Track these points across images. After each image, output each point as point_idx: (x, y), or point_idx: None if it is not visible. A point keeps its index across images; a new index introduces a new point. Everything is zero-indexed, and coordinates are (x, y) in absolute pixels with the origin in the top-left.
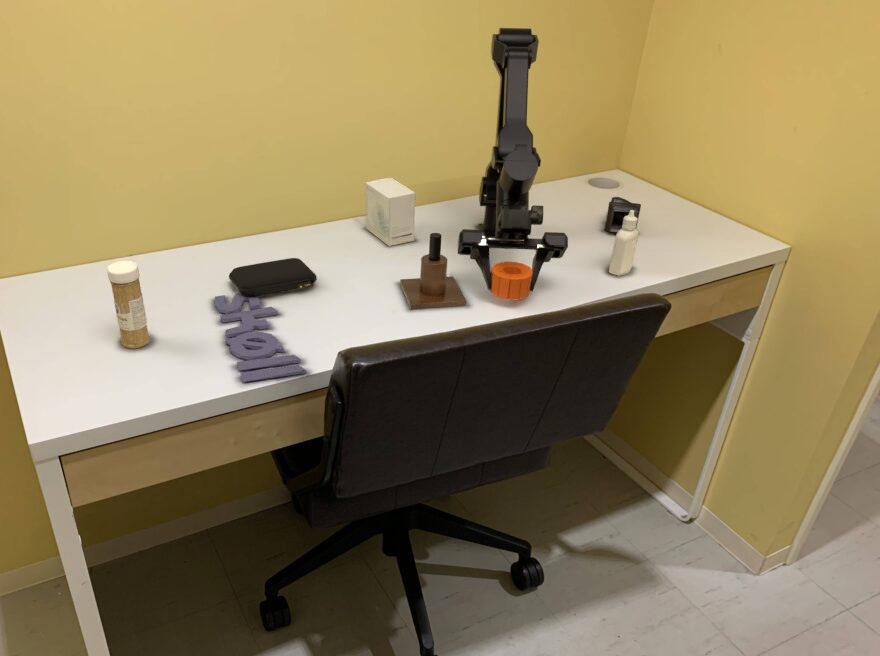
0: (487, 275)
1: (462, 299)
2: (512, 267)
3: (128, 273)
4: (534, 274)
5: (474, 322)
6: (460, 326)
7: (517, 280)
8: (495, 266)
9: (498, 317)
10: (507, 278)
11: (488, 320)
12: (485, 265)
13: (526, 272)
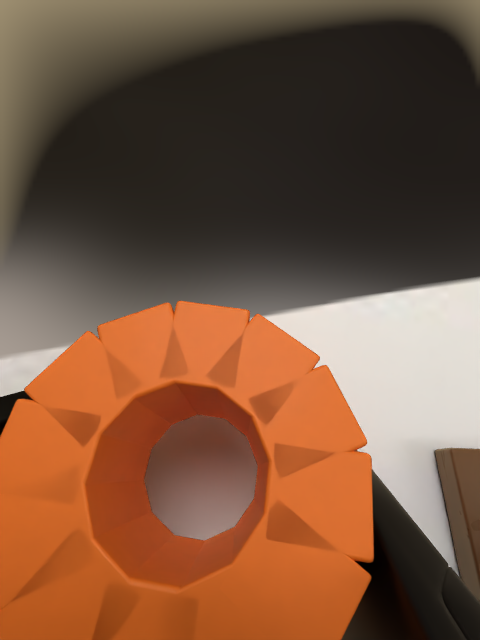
0: (391, 507)
1: (472, 468)
2: (132, 575)
3: None
4: (11, 410)
5: (405, 303)
6: (461, 284)
7: (202, 306)
8: (321, 604)
9: (301, 323)
10: (272, 324)
11: (347, 308)
12: (459, 599)
13: (74, 397)
